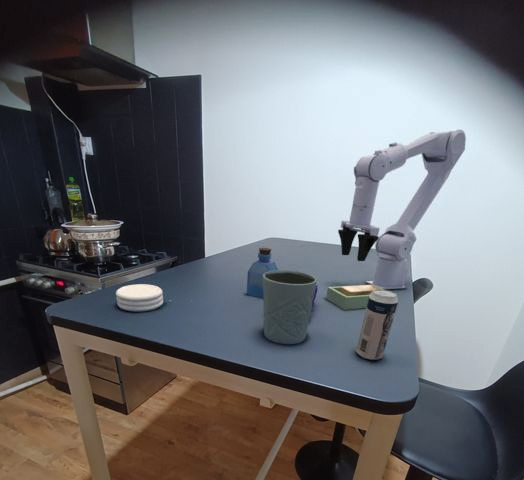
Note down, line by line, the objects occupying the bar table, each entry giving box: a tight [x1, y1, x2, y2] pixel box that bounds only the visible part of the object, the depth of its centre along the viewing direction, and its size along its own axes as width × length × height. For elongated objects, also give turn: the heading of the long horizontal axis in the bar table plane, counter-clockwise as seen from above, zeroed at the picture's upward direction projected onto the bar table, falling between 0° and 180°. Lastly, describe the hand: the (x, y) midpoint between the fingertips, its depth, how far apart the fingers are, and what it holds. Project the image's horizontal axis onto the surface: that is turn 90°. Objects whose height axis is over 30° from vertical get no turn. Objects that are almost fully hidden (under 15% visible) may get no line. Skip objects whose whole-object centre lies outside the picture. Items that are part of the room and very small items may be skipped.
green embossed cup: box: [262, 269, 318, 345], centre depth 62 cm, size 10×10×12 cm
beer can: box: [355, 289, 399, 361], centre depth 56 cm, size 5×5×12 cm
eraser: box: [340, 284, 380, 296], centre depth 85 cm, size 10×4×3 cm, turn 112°
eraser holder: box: [325, 284, 384, 311], centre depth 85 cm, size 15×9×3 cm, turn 112°
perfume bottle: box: [246, 247, 279, 299], centre depth 84 cm, size 6×6×12 cm
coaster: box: [115, 283, 164, 313], centre depth 73 cm, size 10×10×4 cm
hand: (352, 257), depth 92 cm, fingers open, 7 cm apart
